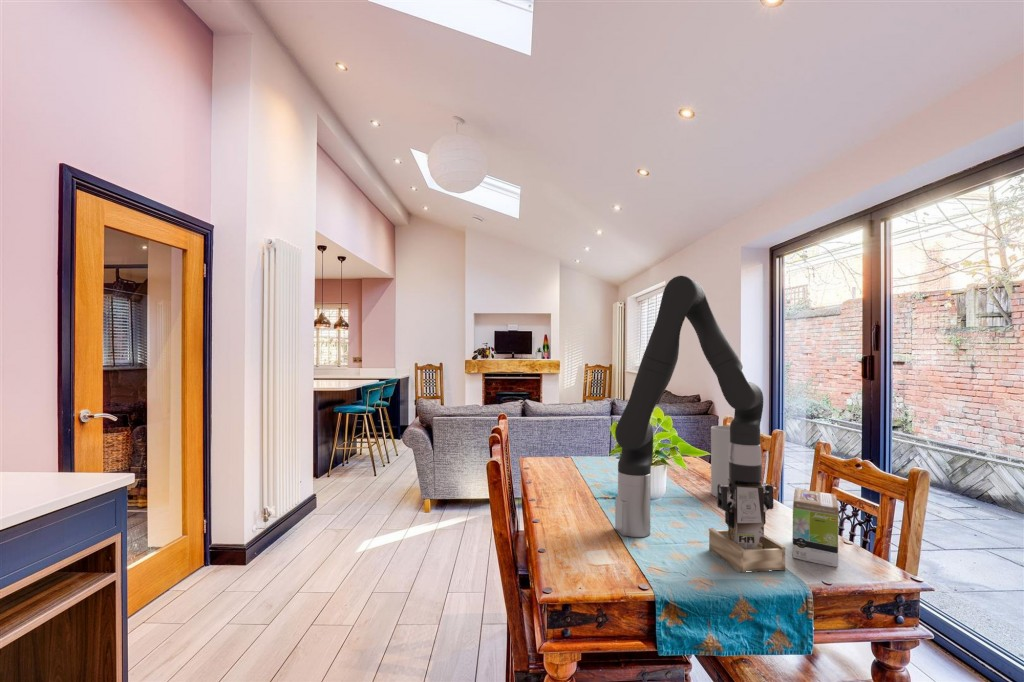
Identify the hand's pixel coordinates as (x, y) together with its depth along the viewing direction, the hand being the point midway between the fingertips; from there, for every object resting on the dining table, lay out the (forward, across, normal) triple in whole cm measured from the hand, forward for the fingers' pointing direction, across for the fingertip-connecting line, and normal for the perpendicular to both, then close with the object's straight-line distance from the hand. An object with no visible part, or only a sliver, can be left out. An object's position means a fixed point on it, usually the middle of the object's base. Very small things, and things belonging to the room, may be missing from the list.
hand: (745, 526), depth 121 cm
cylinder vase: (+8, +28, +52) cm, 60 cm away
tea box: (+9, +21, +2) cm, 23 cm away
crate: (+8, 0, 0) cm, 8 cm away
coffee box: (+5, 0, 0) cm, 5 cm away
